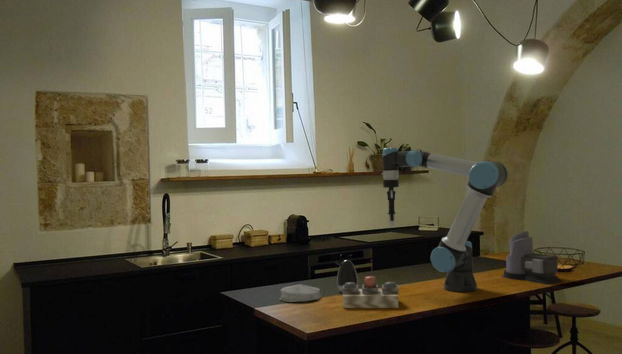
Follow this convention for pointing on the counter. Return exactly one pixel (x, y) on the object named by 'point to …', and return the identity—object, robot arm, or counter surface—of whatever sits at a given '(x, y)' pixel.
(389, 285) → the cap
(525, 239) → the juicer
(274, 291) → the counter surface
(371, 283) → the middle cap
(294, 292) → the food container
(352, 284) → the cap
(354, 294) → the console
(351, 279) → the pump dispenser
